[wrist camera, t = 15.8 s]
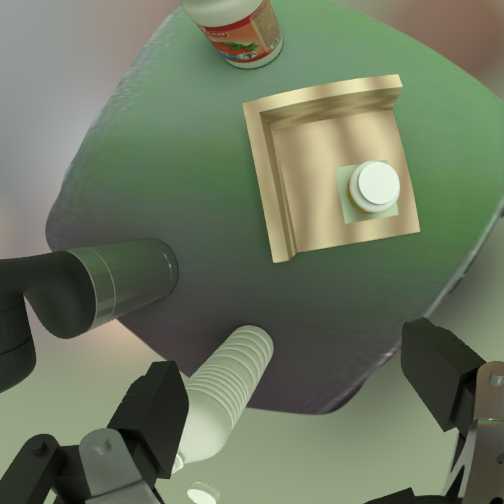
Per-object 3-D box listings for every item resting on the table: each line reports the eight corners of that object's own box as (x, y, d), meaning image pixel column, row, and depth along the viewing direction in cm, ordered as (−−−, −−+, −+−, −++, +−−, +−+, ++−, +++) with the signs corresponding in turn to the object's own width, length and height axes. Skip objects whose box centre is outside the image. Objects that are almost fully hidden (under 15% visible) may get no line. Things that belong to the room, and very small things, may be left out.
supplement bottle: (338, 198, 35) (340, 191, 26) (359, 162, 34) (367, 143, 25) (375, 222, 34) (389, 223, 25) (396, 185, 33) (416, 174, 24)
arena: (286, 254, 38) (273, 262, 31) (260, 124, 37) (242, 103, 30) (418, 231, 33) (439, 235, 26) (387, 100, 32) (397, 74, 25)
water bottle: (221, 341, 42) (114, 445, 18) (252, 315, 41) (152, 422, 17) (261, 383, 41) (189, 511, 18) (294, 360, 40) (240, 499, 16)
